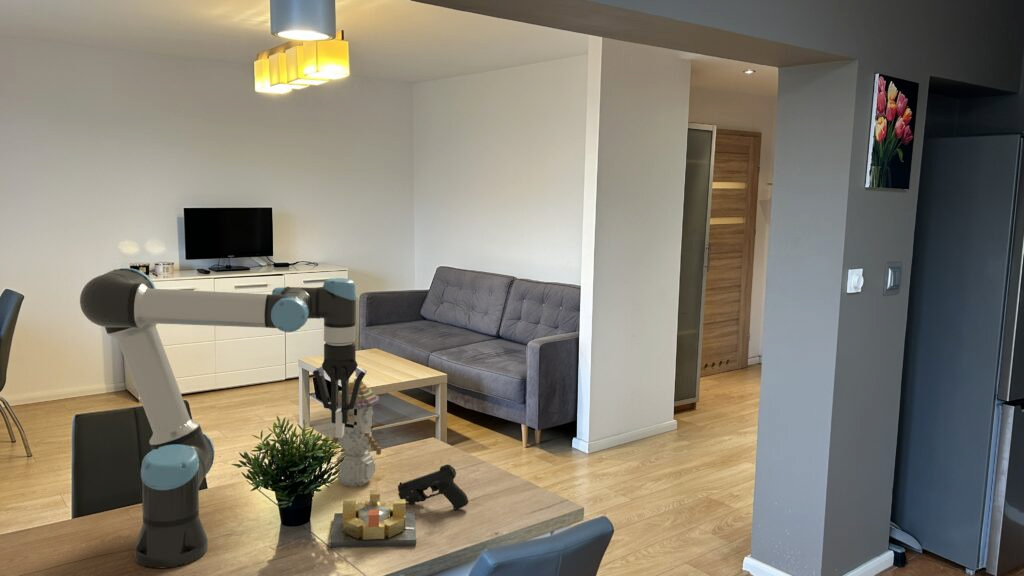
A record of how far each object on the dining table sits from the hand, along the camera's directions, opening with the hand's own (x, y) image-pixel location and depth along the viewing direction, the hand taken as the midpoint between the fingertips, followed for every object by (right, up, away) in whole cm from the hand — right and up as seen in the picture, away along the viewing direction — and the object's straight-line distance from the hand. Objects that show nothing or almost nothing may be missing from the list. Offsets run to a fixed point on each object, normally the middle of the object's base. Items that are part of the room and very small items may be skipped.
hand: (339, 435), depth 194 cm
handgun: (+21, -22, +15) cm, 34 cm away
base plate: (+9, -23, -2) cm, 25 cm away
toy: (-2, -19, +29) cm, 35 cm away
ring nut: (+9, -22, -2) cm, 23 cm away
